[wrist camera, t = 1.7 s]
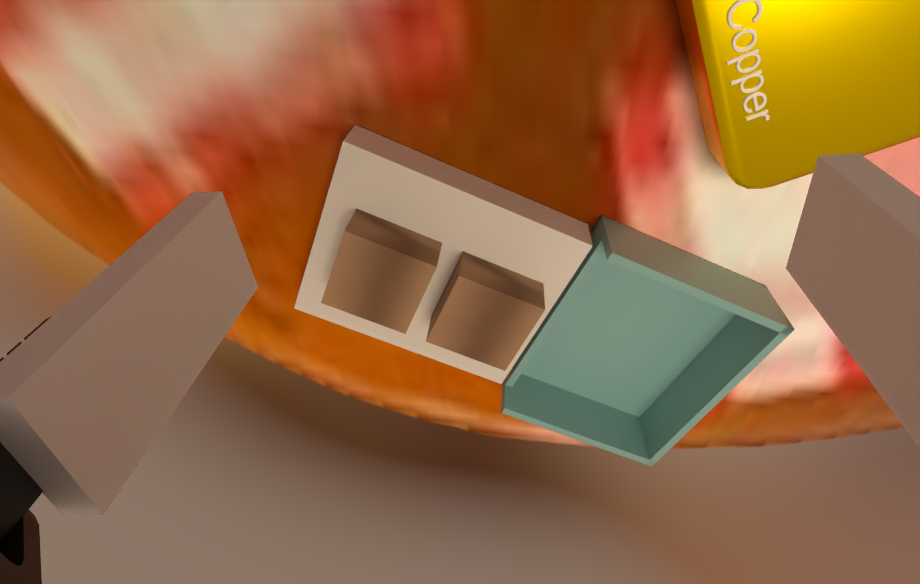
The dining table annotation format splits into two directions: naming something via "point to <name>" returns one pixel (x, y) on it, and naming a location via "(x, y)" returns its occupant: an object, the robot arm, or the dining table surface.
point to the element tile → (801, 80)
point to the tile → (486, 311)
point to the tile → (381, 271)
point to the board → (439, 235)
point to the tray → (641, 345)
